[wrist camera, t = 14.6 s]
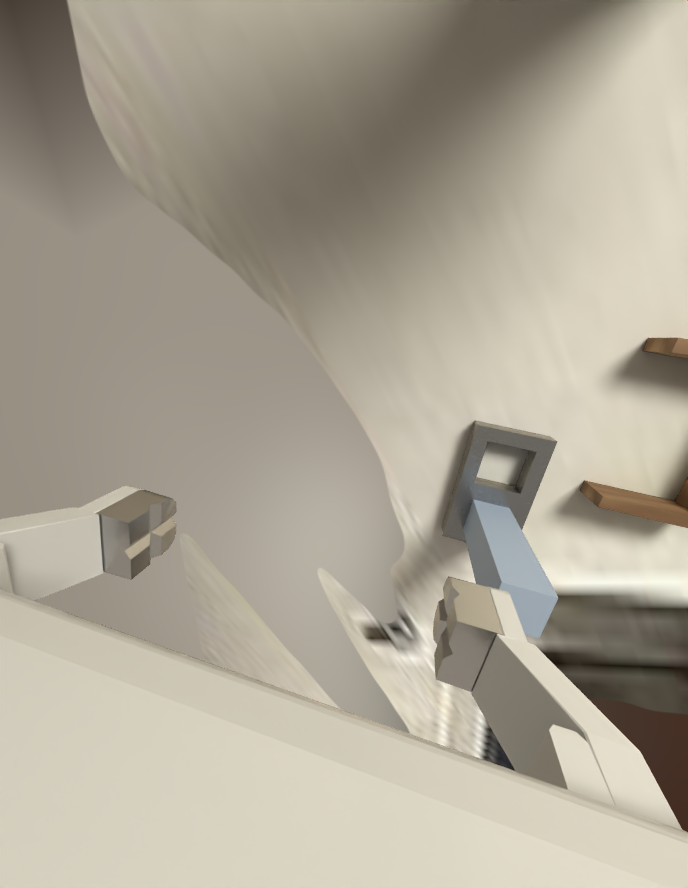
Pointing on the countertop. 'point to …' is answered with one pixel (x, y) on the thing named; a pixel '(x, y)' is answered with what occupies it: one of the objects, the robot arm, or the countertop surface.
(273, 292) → the countertop surface
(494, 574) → the slate block
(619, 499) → the frame
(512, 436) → the hole plate
